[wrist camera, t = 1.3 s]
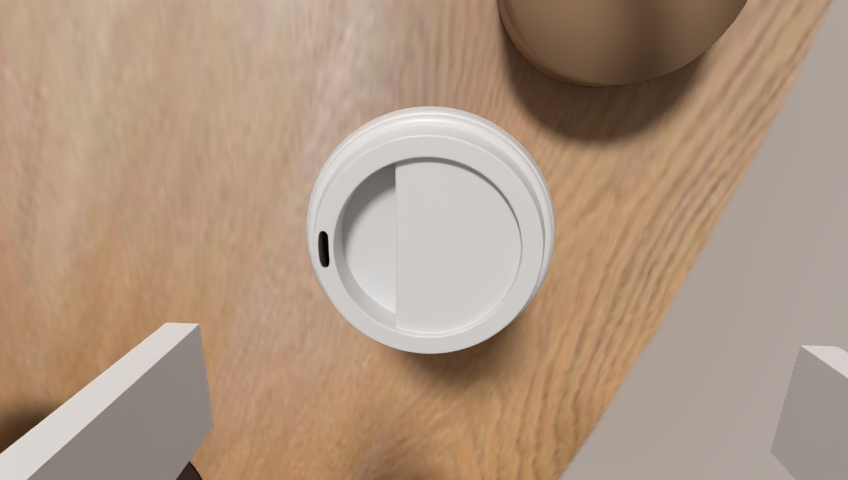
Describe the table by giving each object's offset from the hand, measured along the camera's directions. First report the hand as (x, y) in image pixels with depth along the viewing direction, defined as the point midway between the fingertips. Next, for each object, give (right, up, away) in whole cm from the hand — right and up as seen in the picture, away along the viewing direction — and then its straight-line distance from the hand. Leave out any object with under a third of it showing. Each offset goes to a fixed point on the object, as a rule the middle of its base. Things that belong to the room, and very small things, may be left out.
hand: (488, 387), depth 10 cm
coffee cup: (-1, +7, +20) cm, 21 cm away
